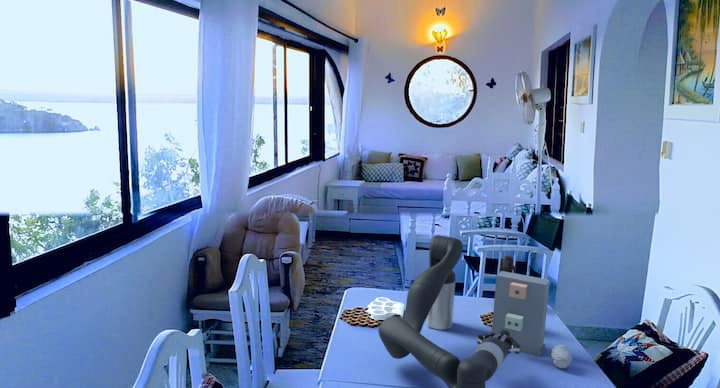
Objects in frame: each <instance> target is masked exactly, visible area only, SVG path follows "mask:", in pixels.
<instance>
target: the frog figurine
mask: <svg viewBox="0 0 720 388" xmlns="http://www.w3.org/2000/svg"><path fill="white" fill-rule="evenodd" d="M550 355H551V359H552V361H553V364H554V365H555V367H557V368H559V369H566V368H568V367H569V366H570V364H571V361H573V358H572V353H571V351H570V350H569V348H568V345H566V344H561V343H558V344H555V345H554V347H553V348H552V349H551V354H550Z"/></svg>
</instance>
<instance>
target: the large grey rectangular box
mask: <svg viewBox="0 0 720 388" xmlns="http://www.w3.org/2000/svg"><path fill="white" fill-rule="evenodd" d="M495 277H496V278H495V289H494V290H495V291H494V299H493V313H492V315H493V316H492V327H491V333H495V335H497V334H498V333H500V332H501V331H503V330H506V331H508V333H510V337H512V338H513V339H514V340H515V341H516V342H517V343H518V344H519V345H520V350H519V353H524V354H529V355H532V356H535V357H539V358H540V357H541V356H542V355H543V352H544V350H545V349H546V343H544V342H545V341H544V340H545V330H546V321H547V313H548V312H547V311H548V302H549V294H550V293H549V292H550V290H549V289H550V282H551V281H550V279H547V278H542V277H535V276H532V275H531V276H530V275H525V274H520V273H516V272H515V273H513V272H512V273H510V272H505V271H503V270H501V272H500V273H499V272H498V273H497V274H496V276H495ZM512 282H515V283H520V284H525V285H528V289H527V297H526V299H525V300H524V299H519V298H514V297H509V290H510V284H511V283H512ZM508 313H510V314H515V315H519V316H524V318H523V328H522V330H521V331H516V330H512V329H508V328H505V319H506V315H507V314H508Z"/></svg>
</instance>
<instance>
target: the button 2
mask: <svg viewBox="0 0 720 388" xmlns="http://www.w3.org/2000/svg"><path fill="white" fill-rule="evenodd" d="M523 318H524V316H519V315H515V314H510V313H508V314H507V315H506V319H505V328H508V329H512V330H516V331H521V330H522V328H523Z"/></svg>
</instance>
